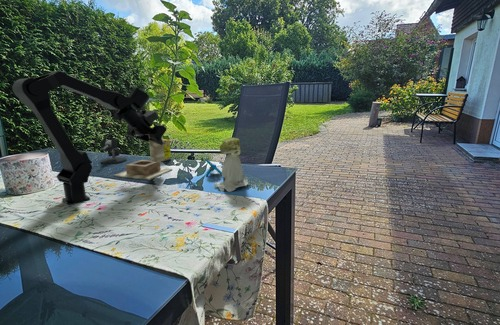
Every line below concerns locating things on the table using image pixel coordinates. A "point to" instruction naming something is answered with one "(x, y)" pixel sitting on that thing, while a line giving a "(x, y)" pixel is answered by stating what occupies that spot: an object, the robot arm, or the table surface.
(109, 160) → the gun turret
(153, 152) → the peg
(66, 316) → the table surface
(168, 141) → the supplement box
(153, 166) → the socket
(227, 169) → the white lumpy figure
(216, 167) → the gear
